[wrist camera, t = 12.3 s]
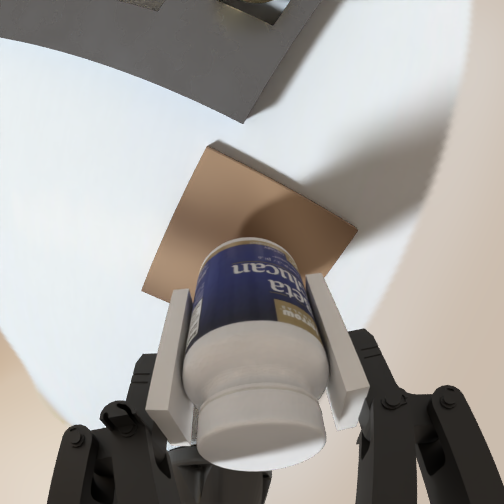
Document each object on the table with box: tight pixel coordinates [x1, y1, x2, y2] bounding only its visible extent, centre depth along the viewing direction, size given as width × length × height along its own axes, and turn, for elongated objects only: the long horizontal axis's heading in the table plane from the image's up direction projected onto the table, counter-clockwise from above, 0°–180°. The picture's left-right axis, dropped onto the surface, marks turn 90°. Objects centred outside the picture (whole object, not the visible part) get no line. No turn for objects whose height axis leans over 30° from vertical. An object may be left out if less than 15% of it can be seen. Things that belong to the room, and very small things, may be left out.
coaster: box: [141, 146, 358, 303], centre depth 18 cm, size 10×10×1 cm
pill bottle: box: [182, 237, 329, 471], centre depth 12 cm, size 5×5×10 cm
